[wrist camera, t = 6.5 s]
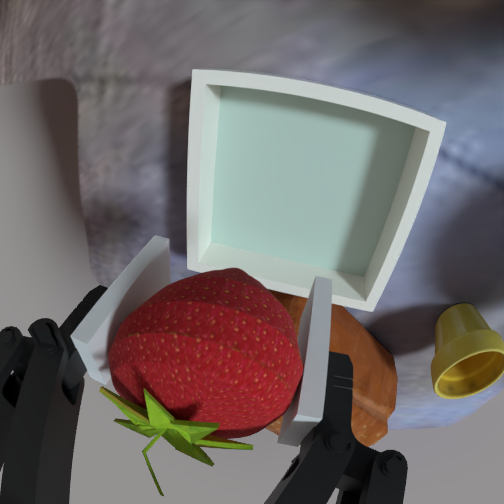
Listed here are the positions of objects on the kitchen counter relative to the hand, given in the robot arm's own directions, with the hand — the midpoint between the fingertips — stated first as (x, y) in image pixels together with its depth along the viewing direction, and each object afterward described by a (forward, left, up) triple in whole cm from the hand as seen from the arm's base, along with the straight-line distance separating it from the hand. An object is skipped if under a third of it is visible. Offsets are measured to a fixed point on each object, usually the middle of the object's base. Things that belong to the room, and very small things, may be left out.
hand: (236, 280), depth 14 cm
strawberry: (0, 0, -1) cm, 1 cm away
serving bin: (+2, +2, -18) cm, 18 cm away
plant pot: (+15, +27, -18) cm, 36 cm away
